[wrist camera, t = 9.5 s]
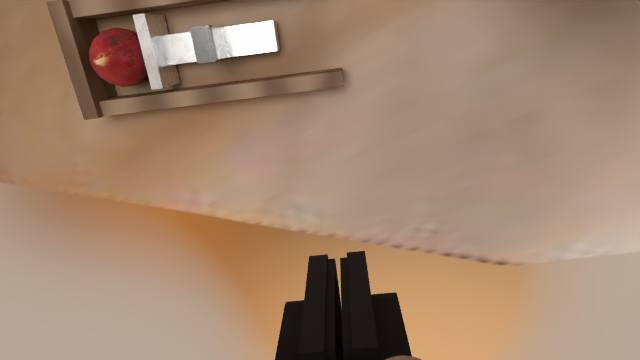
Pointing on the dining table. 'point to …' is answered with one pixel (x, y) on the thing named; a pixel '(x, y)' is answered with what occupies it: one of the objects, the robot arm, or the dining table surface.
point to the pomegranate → (118, 57)
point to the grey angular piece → (197, 45)
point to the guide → (102, 100)
